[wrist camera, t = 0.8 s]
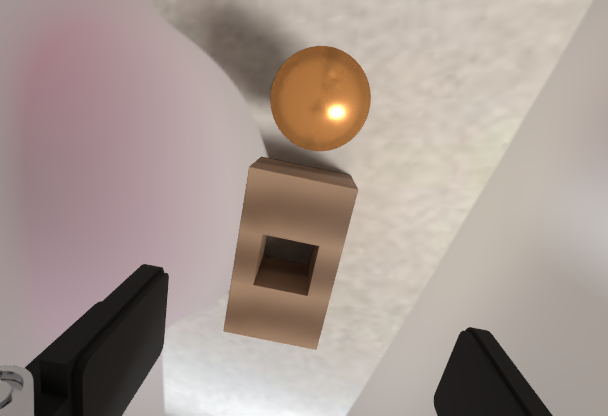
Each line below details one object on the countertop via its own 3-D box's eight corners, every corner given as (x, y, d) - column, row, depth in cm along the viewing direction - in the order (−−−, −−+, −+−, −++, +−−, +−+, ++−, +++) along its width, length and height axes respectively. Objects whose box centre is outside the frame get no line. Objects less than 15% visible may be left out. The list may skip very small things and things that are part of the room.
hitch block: (261, 156, 32) (249, 166, 27) (350, 175, 32) (358, 189, 27) (238, 296, 37) (223, 331, 31) (316, 312, 37) (316, 349, 31)
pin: (292, 59, 30) (280, 35, 20) (361, 74, 30) (382, 58, 20) (279, 130, 32) (262, 140, 22) (344, 144, 32) (356, 159, 22)
